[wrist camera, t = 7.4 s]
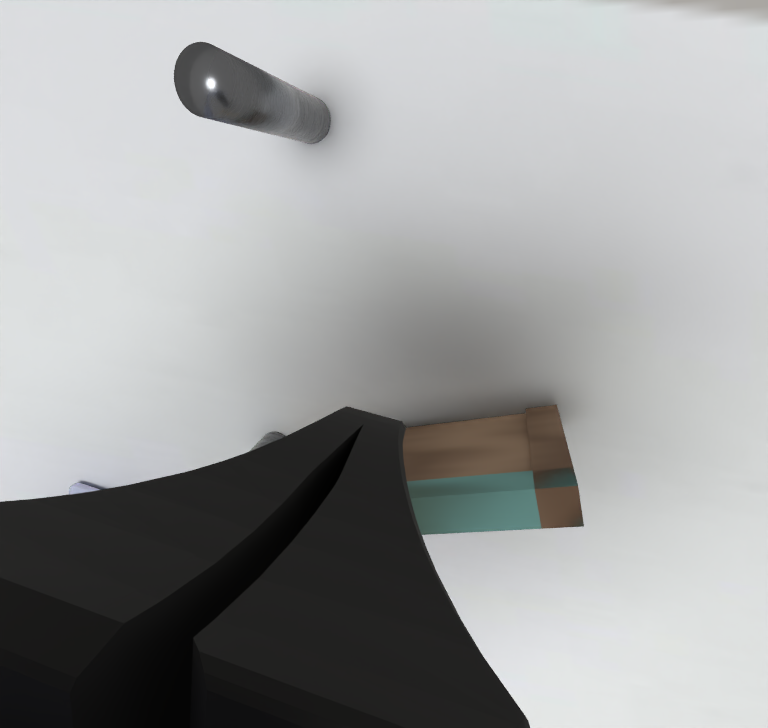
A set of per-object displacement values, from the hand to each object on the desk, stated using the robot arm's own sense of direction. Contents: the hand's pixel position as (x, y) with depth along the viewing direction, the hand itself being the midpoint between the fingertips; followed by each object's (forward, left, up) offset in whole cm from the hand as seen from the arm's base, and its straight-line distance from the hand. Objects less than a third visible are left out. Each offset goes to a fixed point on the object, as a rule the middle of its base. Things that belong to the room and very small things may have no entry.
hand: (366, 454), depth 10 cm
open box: (-5, 0, -10) cm, 11 cm away
